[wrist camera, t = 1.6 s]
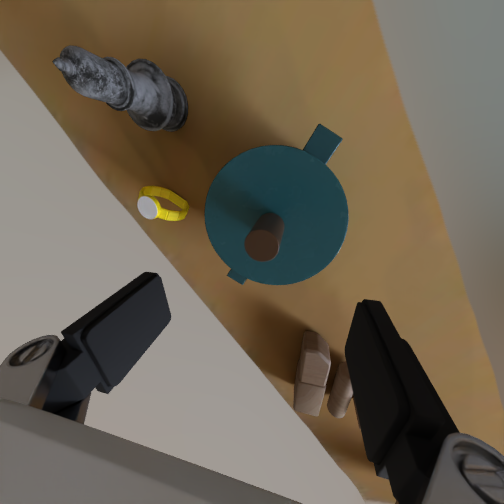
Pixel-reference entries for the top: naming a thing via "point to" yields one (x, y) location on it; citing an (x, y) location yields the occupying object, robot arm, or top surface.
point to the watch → (152, 207)
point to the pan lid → (276, 215)
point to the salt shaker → (126, 87)
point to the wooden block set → (320, 379)
